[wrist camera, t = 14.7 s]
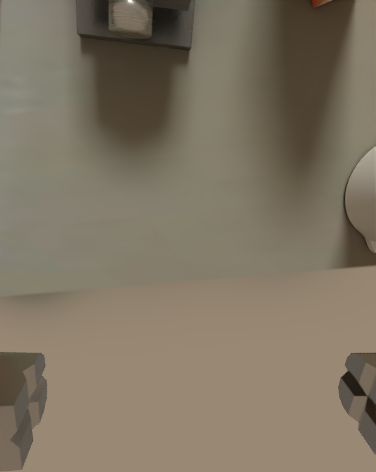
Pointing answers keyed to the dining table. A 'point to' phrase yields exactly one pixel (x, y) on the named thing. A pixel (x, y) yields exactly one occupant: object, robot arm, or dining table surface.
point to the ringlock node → (138, 21)
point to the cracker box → (319, 2)
